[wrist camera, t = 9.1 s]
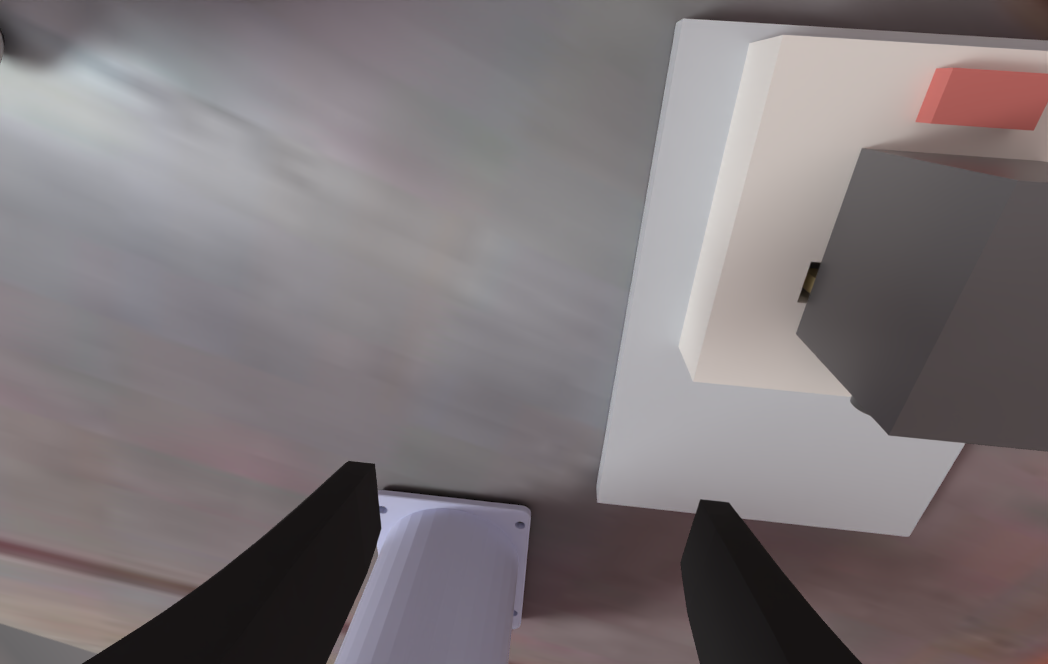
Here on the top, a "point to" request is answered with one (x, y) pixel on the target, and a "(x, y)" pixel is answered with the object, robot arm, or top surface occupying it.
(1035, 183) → the plug
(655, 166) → the socket mat
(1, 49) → the light bulb
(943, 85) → the socket plate
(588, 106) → the top surface
